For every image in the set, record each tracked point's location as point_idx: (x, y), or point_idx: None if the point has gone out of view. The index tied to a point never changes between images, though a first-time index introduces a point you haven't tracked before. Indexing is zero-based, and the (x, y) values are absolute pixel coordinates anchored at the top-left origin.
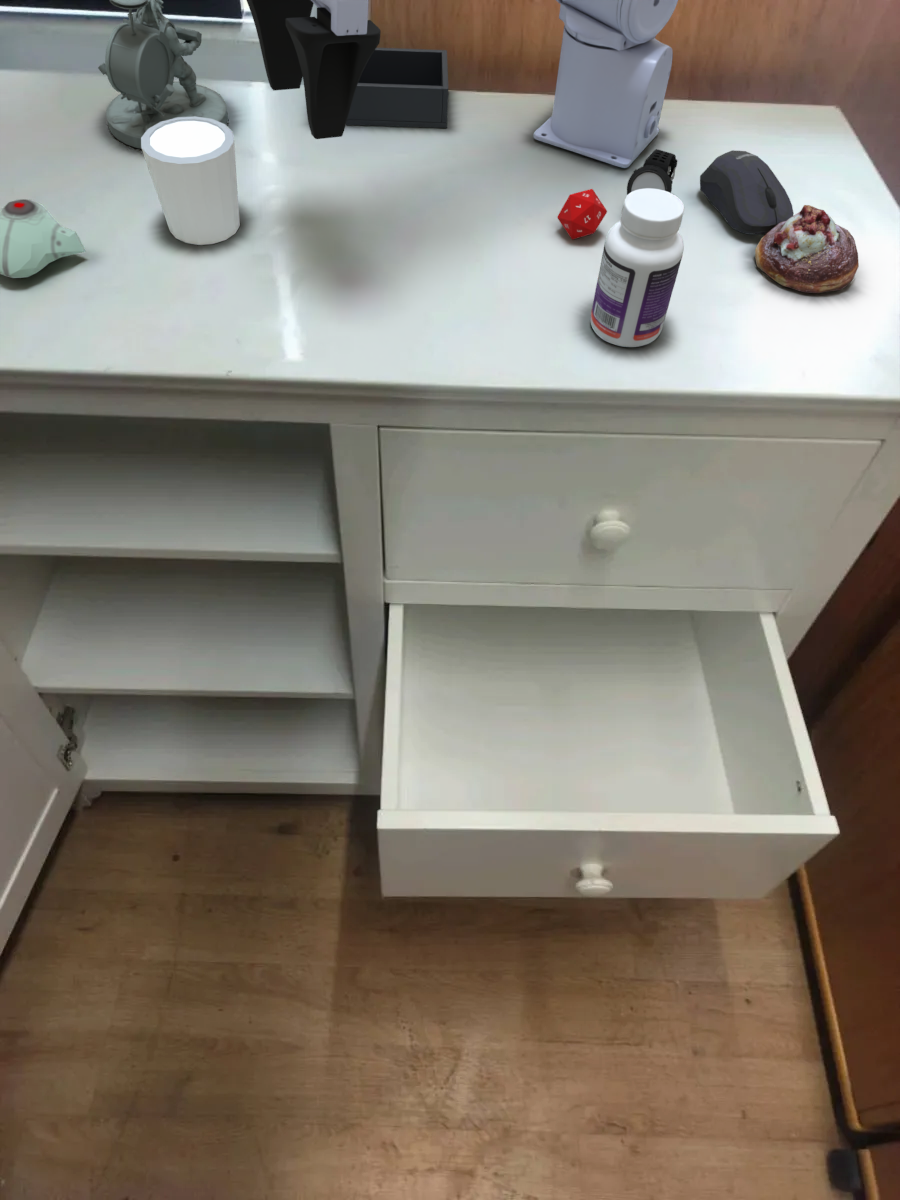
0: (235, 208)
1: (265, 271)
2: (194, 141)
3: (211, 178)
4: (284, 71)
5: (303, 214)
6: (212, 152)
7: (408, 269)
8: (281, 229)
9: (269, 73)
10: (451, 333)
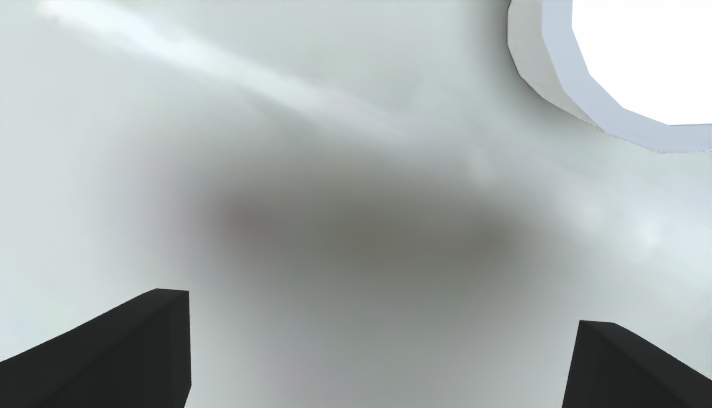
0: (539, 89)
1: (350, 75)
2: (676, 11)
3: (532, 14)
4: (594, 403)
5: (508, 248)
6: (569, 34)
7: (219, 341)
8: (480, 178)
9: (606, 341)
10: (4, 308)
